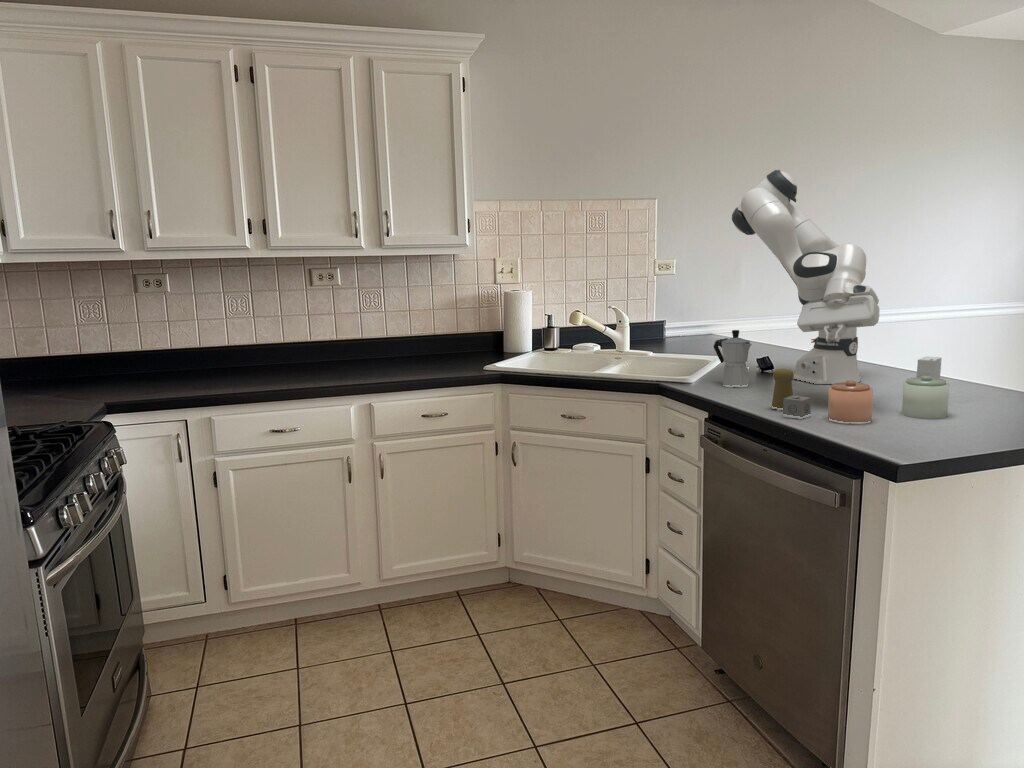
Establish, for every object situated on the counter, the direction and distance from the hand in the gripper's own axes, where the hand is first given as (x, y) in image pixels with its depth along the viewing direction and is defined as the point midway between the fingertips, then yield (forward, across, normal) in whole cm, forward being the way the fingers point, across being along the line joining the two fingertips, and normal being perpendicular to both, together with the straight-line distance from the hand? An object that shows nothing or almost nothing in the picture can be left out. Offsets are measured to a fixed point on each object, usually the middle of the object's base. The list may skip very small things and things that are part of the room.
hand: (832, 341), depth 189 cm
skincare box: (+2, +14, +31) cm, 34 cm away
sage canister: (+12, +18, +19) cm, 29 cm away
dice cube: (+21, -6, +2) cm, 22 cm away
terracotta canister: (+20, +6, +6) cm, 22 cm away
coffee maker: (-2, -42, +24) cm, 48 cm away
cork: (+16, -13, +7) cm, 22 cm away
